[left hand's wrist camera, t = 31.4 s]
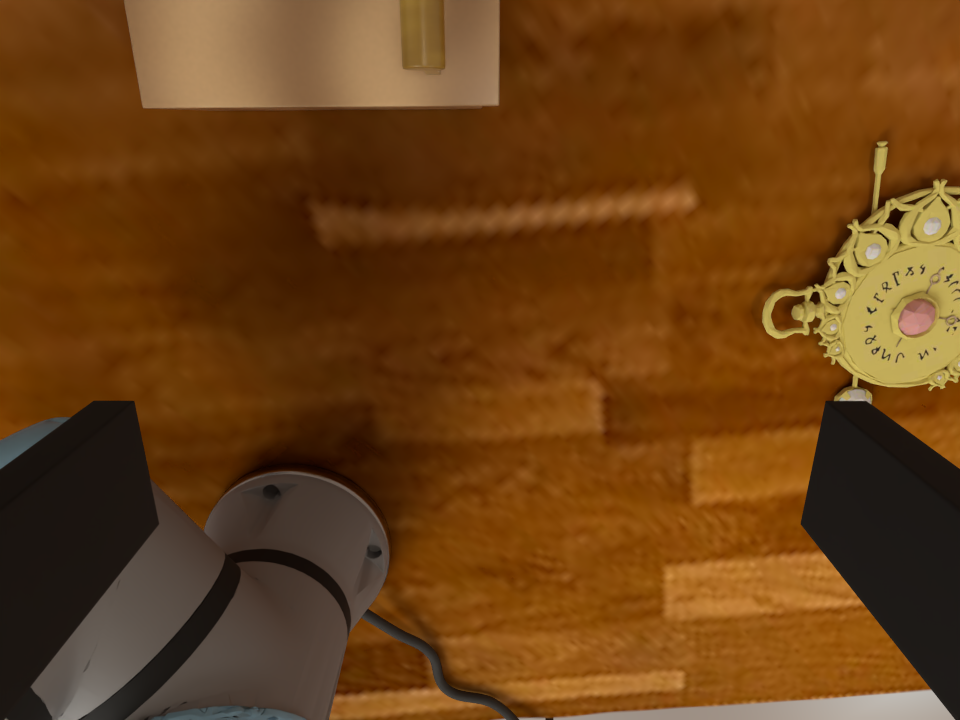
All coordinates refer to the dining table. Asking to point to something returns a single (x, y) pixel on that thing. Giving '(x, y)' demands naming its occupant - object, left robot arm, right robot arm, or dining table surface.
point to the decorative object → (890, 294)
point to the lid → (315, 53)
